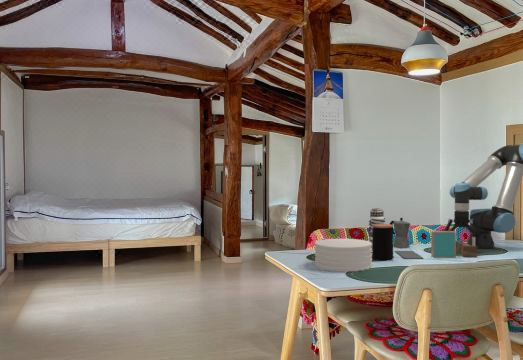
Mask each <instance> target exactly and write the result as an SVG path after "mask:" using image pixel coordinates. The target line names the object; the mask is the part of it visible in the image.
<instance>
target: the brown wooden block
mask: <svg viewBox="0 0 523 360" xmlns="http://www.w3.org/2000/svg"><path fill="white" fill-rule="evenodd" d="M456 254H459V255H461V256H462V258H478V248H477V246H472V245H469V244H467V242H464V241H460V240H459V241H457V240H456Z"/></svg>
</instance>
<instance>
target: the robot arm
mask: <svg viewBox="0 0 523 360" xmlns="http://www.w3.org/2000/svg"><path fill="white" fill-rule="evenodd" d="M504 166H507V167H508V168H507V171H506V172H505V176H504V179H503V182H502V185H501V189H500V191H499V194H498V197H497V200H496V203H495V205H493V206H491V208H476V209H475V208H473V209H471V210H470V201H484V200H486V199H487V197H488V196H489V192H488V189H487V188H486V187H484V186H479V185H480V184H481V183H482V182H484V181H485V180H486V179H487V178H488V177H489V176H490V175H492V174H493V173H494V172H496V171H497V170H499V169H500V170H501V168H502V167H504ZM522 178H523V143H521V144H509V145H504V146H501V147H500V148H498V149H496V150H495V151H494V152H492V153H491V154H490V155H489V156H488V157H487V160H486V161H485V162H483V163H482V164H481V165H480V166H479V167H478V168H477V169H475V170H474V171H473V172H472V173H470V175H469V176H467V177H466V178H465V179H464V180H463V181H462V182H457V183H456V182H455V185H452V186H451V187H450V189H449V195H450V197H451V198H453V199H454V210H455V211H454V215H453V218H454V219H451V218H448V221H447V224H446V225H445V228H444V229H443V231H455V230H456V229H458V228H466V229H467V230H468V231H469V236H468V238H467V241H466V243H467V244H469V245H472V246H477V249H482V250H483V249H487V250H488V249H494V248H495V242H494V239H493V237H492V236H493V235H492V232H493V233H494V232H495V233H498V234H501V233H502V234H503V233H504V234H506V233H509V232H511V231H512V230H513V229H514V228H515V226H516V217H515V214H514V211H513V207H514V203H515V201H516V197H517V194H518V192H519V188H520V185H521V182H522ZM453 223H454V224H453ZM452 224H453V225H452ZM451 226H452V227H451Z"/></svg>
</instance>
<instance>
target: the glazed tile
mask: <svg viewBox="0 0 523 360" xmlns="http://www.w3.org/2000/svg"><path fill="white" fill-rule="evenodd" d="M430 234H431V236H430V237H431V244H430V245H431V247H430V249H431V251H430V252H431V258H432V257H433V258H432V259H434V258H435V259H442V258H443V259H456V258H457V252H456V241H457V239H456V238H457V237H456V236H457V232H456V231H455V230H454V231H449V230H448V231H444V230H435V231H434V230H432V231H431V233H430Z"/></svg>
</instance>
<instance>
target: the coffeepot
mask: <svg viewBox="0 0 523 360" xmlns="http://www.w3.org/2000/svg"><path fill="white" fill-rule="evenodd" d="M399 219H400V220H398V221H396V220H391V221H390V223H389V224H390V225H393V227H392V229H393V235H395V237H394V240H393V248H395V249H396V248H397V249H408V248H410V241H409V237H408V234H409V229H410V227H411V223H410V222H408V221H404V220H403V217H400V218H399Z"/></svg>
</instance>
